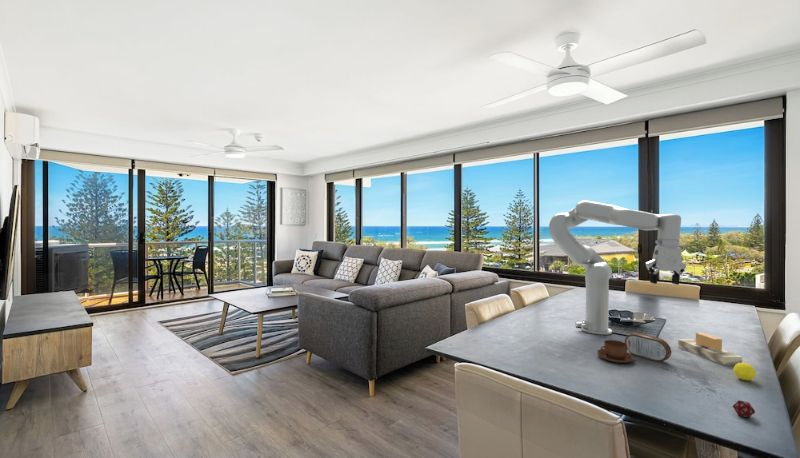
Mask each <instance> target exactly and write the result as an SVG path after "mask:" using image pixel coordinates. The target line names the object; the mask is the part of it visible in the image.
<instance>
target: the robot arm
mask: <svg viewBox="0 0 800 458" xmlns="http://www.w3.org/2000/svg"><path fill="white" fill-rule="evenodd" d="M589 220H590V221H593V222H594V221H595V222H599V223H600V222H601V223H603V224H604V223H605V224H610V225H614V226H622V227H627V228H632V229H638V230H642V231H657V240H655V241H654V242H655V244H656V245H655V247H654V251H653V253H652V260H649V261H646V262H645V266H646V267H645V268H646V269H647V271H648V273H649V274H650V276H649V277H650V278H649V282H650V283H651V284H653V285H654V284H655V285H656V284H658V276H659V275H658V272H660V271H666V272H667V271H669V272H672V276H671V284H673V285H679V284H680V278H681V277H680V276H682V274H683V272H685V270H686V268H687V264H686V263H684V262H683V255H682V249H681V247H679V246H680V236H681V225H682V216H681V215H680V214H673V213H668V214H667V213H666V214H665V213H663V214H658V213H657V214H656V213H651V212H646V211H641V210H635V209H628V208H624V207H622V206H618V205H614V204H607V203H602V202H596V201H591V200H581V201H578V202H577V203H576V205H575V207H574V208H572V209H570V210H568V211H567V212H559V213H556V214H554V215H553V216H552V217H551V218H550V221H549V224H548V232H549V236H550V237H551V239H552V241H553V242H554V243H555V244H556V245H557V246H558V248H560V249H561V250H562V252H563V253H564V254H565V255H566V256H567V257H568V258H569V259H570V261H571V262H572V263H573V264H575V265H576V266H579V267H582V268H583V269H584V270H585V272H584V273H585V276H584V278H585V280H584V281H585V317H584V318H585V319H583V320H582V321H581V322H580V321H577V322H575V323H574V325H575V327H580V328H581V330H582V331H583V332H586V333H588V334H589V333H590V334H593V335H602V336H603V335H604V336H607V335H611V334H612V333H613V330H612V329H611V328H609V315H610V314H609V312H610V310H609V309H610V308H609V305H610V304H609V303H610V302H609V301H610V297H609V296H610V286H609V283H610V282H609V280H610V279H611V277H612V275H613V270H612V267H611V266H610V265H609V263H607V262H606V261H605V259H604V258H602V257H601V255H599V253H597V251H596V250H595V249H593V248H592V247H591V246H589V245H587V244H586V245H585V244H582V242H580V241H579V240H578V239H577V238H576V236H574V234H572V233H571V232H570V231H569V230H571V229H573V228H575V227H577V226H579V225H581V224H583V223H585V222H587V221H589Z"/></svg>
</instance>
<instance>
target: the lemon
mask: <svg viewBox="0 0 800 458" xmlns="http://www.w3.org/2000/svg"><path fill="white" fill-rule="evenodd" d="M733 366H734V367H733V373H734V375H735V376H736V377H737V378H739V379H740V380H741V381H751V380H755V377H756V376H757V375H756V373H757V371H756V369H755V367H753V365H751V364H749V363H747V362H742V363H738V364H736V365H733Z"/></svg>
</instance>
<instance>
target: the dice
mask: <svg viewBox="0 0 800 458" xmlns="http://www.w3.org/2000/svg"><path fill="white" fill-rule="evenodd" d="M732 408H733V409H734V411H735V412H736V414H737V415H738V417H739V416H740V417H744V418H748V419H749V418H750V417H751V416H752V415H754V414H755V413H756V411H755V409H754V408H753V405H751V402H749V401H744V400H740V399H739V400H737V402H735V403H734V404H733V405H732Z"/></svg>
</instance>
